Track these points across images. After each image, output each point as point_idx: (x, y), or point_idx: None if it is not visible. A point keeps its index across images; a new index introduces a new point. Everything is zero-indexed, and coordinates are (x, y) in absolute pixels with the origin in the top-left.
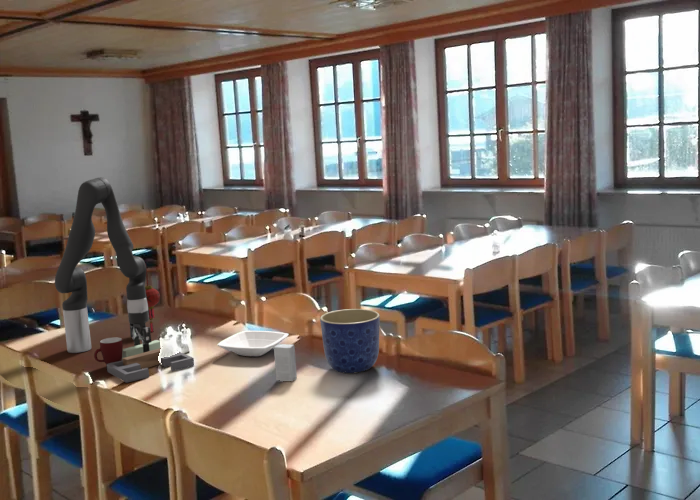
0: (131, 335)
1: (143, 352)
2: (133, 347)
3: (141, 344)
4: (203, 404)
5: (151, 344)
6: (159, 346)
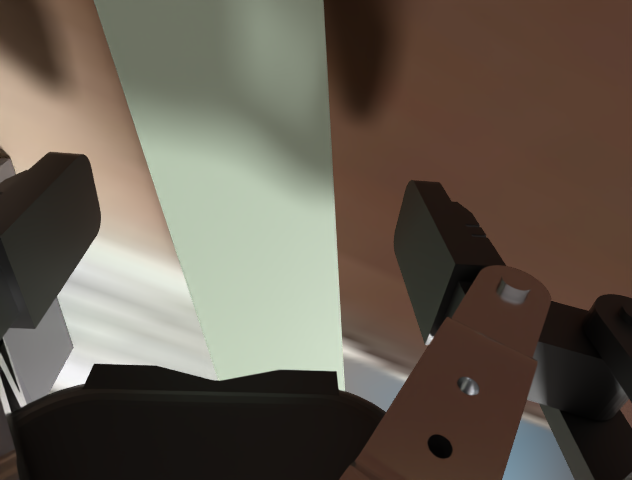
0: (624, 330)
1: (75, 155)
2: (240, 97)
3: (315, 276)
4: None
5: (211, 352)
6: None
